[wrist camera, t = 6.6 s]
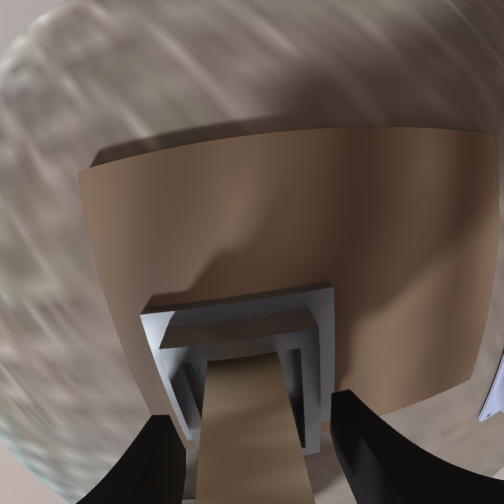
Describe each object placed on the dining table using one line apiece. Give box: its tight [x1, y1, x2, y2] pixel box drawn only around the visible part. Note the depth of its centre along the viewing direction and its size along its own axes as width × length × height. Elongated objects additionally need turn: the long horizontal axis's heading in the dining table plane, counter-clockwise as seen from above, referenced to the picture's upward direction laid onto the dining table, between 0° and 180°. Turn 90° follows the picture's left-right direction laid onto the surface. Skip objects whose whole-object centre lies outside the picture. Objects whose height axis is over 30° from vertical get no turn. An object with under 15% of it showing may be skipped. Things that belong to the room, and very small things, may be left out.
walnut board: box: [78, 127, 499, 449], centre depth 12 cm, size 18×14×1 cm
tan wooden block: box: [195, 352, 315, 504], centre depth 8 cm, size 2×4×7 cm, turn 8°
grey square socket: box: [140, 281, 335, 456], centre depth 11 cm, size 7×7×3 cm
